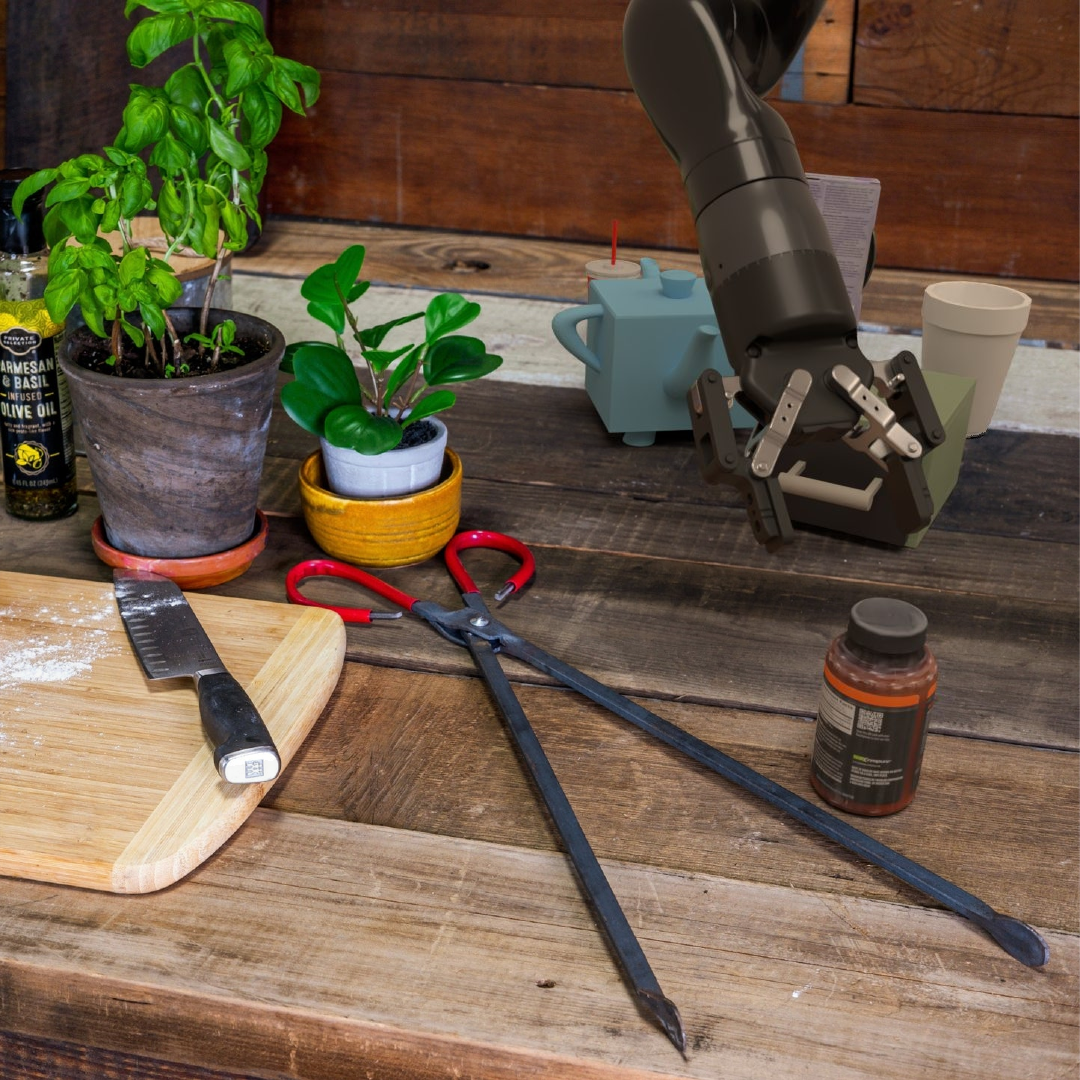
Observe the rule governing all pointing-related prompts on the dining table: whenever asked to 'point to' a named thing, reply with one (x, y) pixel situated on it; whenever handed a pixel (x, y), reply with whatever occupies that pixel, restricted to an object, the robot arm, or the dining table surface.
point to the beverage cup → (612, 265)
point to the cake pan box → (849, 226)
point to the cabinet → (945, 460)
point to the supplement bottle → (874, 709)
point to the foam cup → (973, 338)
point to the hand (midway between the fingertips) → (851, 539)
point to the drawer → (837, 490)
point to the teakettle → (647, 350)
